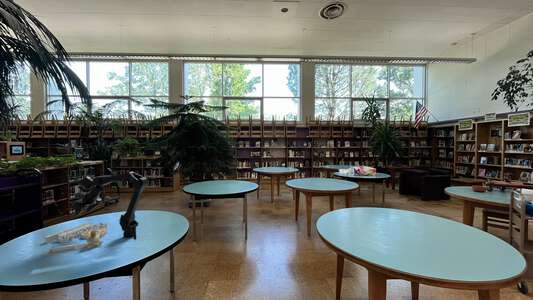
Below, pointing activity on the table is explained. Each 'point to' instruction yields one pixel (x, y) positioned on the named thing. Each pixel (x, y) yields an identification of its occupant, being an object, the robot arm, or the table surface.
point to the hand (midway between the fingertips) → (81, 214)
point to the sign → (78, 232)
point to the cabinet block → (93, 239)
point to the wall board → (70, 249)
